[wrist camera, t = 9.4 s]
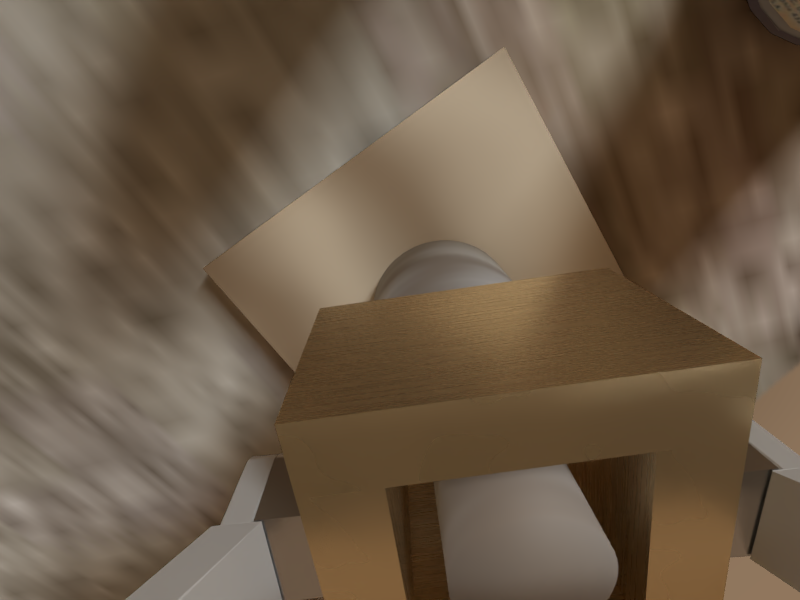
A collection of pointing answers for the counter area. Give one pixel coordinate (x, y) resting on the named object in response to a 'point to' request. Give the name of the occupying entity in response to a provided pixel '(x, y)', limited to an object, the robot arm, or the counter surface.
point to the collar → (518, 427)
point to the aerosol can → (779, 17)
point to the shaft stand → (438, 271)
